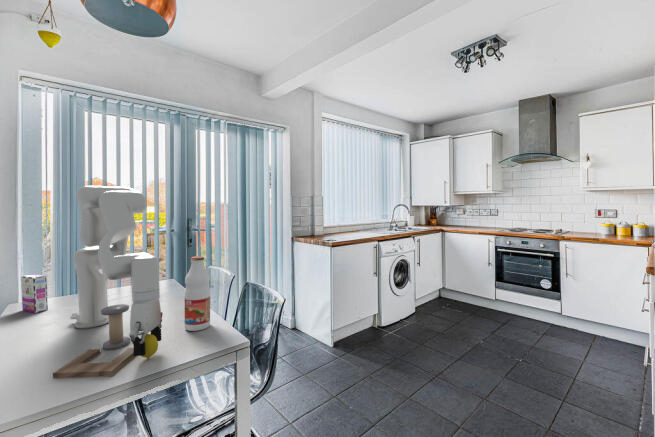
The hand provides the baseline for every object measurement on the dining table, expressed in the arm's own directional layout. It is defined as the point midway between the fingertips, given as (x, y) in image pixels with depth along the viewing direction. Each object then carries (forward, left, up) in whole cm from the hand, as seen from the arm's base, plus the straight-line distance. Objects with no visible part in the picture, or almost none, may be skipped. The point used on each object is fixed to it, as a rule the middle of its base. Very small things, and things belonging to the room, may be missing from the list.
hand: (148, 347), depth 96 cm
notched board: (-13, -3, -3) cm, 14 cm away
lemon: (0, 0, -4) cm, 4 cm away
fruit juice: (+7, +23, -3) cm, 24 cm away
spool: (-16, +10, -3) cm, 19 cm away
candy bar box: (-77, +49, -4) cm, 91 cm away
